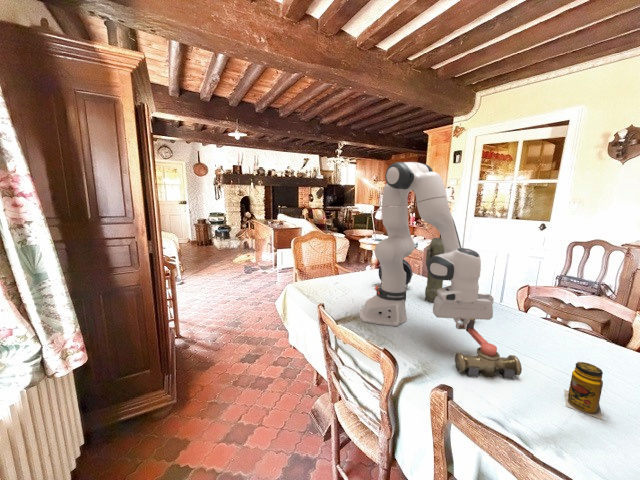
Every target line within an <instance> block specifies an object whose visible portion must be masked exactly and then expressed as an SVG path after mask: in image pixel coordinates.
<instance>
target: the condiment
mask: <svg viewBox="0 0 640 480" xmlns="http://www.w3.org/2000/svg"><path fill="white" fill-rule="evenodd" d="M603 374H604V372H603V370H602V369H601V368H600V367H598V366H596V365H595V364H591V363H588V362H583V361H578V362H576V363H575V367H574V370H573V371H572V372H571V378H570V384H569V388H568V390H567V389H564V402H565V404H564V405H565V407H568V408H569V409H570V408H571V409H573V410H575V411H577V412H580V413H583V414H585V415H589V416H591V417H595V418H597V419H599V420H602V421H603V420H604V418H603V413H602V410H601V406H600V400H601V395H602V390H603V385H604V381H603Z"/></svg>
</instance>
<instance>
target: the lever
mask: <svg viewBox="0 0 640 480" xmlns="http://www.w3.org/2000/svg"><path fill="white" fill-rule="evenodd" d="M465 331H466V332H467V333H468V334H469V336H471V338H473V339H474V341H475V342H476V343H477V344H478V345H479V346H480V347H481V352H482V353H484V354H486V355H490V356H495V355H496V353H497V352H498V347H497V346H496V345H495V344H492V343H490V342H488V341H487V340H486V339H485V338H484V337H483V336H482V335H481V334H480V333H479V332H478V331H477V330H476V329H475V322H474V321H472V320H470V322H469V323H468V324H467V325H466V329H465Z"/></svg>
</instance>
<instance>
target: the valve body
mask: <svg viewBox="0 0 640 480" xmlns="http://www.w3.org/2000/svg"><path fill="white" fill-rule="evenodd" d="M476 354H477V355H468V354H467V355H465V354H463V353H462V352H460V351H459V352H458V351H457V352H455V355H454V363H455V368H456V369H457V372H458V373H464V374H466V376H467V377H468V378H478V377H479V375H481V376H482V377H486V378H491V379H492V378H495V377H497V376H496V375H497V373H498V374H499V375H500V377H502V378H503V380H514V379H515V376H520V375H521V374H522V370H523V368H522V364H521V361H520V359H519V358H518V357H517V356H516V355H514V354H513V355H512V354H510V355H507V357H505V356H504V357H501V355H500V353H499V352H498V351H497V353H496V355H495V356H490V355H486V354H484V353H482V352H481V346H480V347H478V348H477V349H476Z"/></svg>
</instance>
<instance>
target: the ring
mask: <svg viewBox="0 0 640 480" xmlns="http://www.w3.org/2000/svg"><path fill="white" fill-rule="evenodd" d="M403 268H404V271H405V272H406V286H408V285H409V284H410V283H411V281H412V277H413V275H414V273H413V269H412V266H411V264H410V263H409V262H408V261H407V260H406V259H405V258H403ZM378 278H379V280H380V281H381V280H382V271H381V265H380V264H379V268H378Z"/></svg>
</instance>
